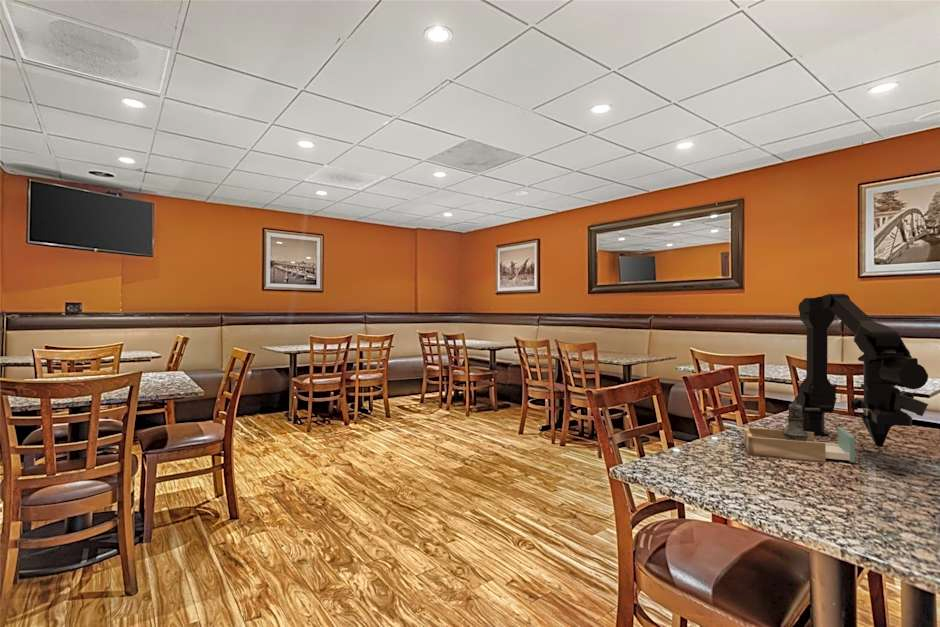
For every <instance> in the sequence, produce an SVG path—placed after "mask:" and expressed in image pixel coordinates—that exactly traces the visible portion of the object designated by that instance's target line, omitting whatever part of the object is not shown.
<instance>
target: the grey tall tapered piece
mask: <svg viewBox="0 0 940 627" xmlns="http://www.w3.org/2000/svg"><path fill="white" fill-rule="evenodd" d="M793 401H794V403H792V402H791V403H790V404H788V415H787V416H786V419H787V422H788V424H787V428H786V429H781V430H782V433H783V436H784V438H785V439H786V440H796V441H807V439H808V436H809V433H807V432H805V431H804V430H803V427H802V420H803V419H804V418H802V406H801V405H799V404H797V403H796V402H797V401H796V400H793Z"/></svg>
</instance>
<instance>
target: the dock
mask: <svg viewBox="0 0 940 627" xmlns="http://www.w3.org/2000/svg"><path fill="white" fill-rule="evenodd" d="M742 430H743V431H742V433H743V438H742V439H743V440H742V441H743V442H742V443H743V445H744V447H745V450H746V451H747V454H748V456H755V457H756V456H757V457H767V458H778V459H787V460H788V459H789V460H795V461H796V460H797V461H808V462H818V463H826V462H827V461H826V459H827V458H826V444H825V443H826V442H823V443H820V441H815V434H814V432H807V433H809V436H808V439H807V441H796V440H784V439H785V438H784V436H783V433H782V430H783V429H776V428H775V429H774V428H764V427H763V428H761V427H751V426H750V427H749V426H743V428H742ZM772 438H775V439H772ZM808 441H811V442H808Z"/></svg>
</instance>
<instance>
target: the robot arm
mask: <svg viewBox="0 0 940 627" xmlns="http://www.w3.org/2000/svg"><path fill="white" fill-rule="evenodd" d="M798 312H799V319H800V320H801V322H802V323H803V326H805V328H806V375H805V378H804V379H803V381H802V382H801V384H800V385H799V391H798V394H797V395H796V396H795V398H794V400H796V401H797V402H796V403H797V404H799V405H801V406H802V418H804V419H803V420H802V427H803V430H804V431H805V432H814V435H819V436H829V435H830V434H829V433H828V432H827V431H826V429H825V427H826V426H825V424H826V423H825V421H826V420H825V419H826V418H825V414H828V413H829V414H833V413H834V410H835V405H836V401H838V400H837V394H836V392H837V387H836V386H835V385H833V384H832V383H831V382H830V379H829V378H828V350H829V349H828V347H829V346H828V345H829V344H828V337H829V336H828V331H829V328H830V326H831V325H832V323H833V322H834V320H835V317H837V318H838V319H839V320H840V321H841V322H842V323H843V324H844V325H845V326H846V327H847V328H848V329H849V330H850V331H851V333H853V335H854V338H853V342H854V343H855V344H856V346H857V348H858V349H859V350H860V351H861V352H862V355H860V356H859V357H858V358H857V360H858V361H859V362H863V383H860V388H861V390H863V397H854V398H853V399H851V401H850V408H851V409H852V410H854V411H858V409H862V410H863V413H859V414H858V415H859V417H860V418H861V420H862V422H863V424H864V425H865V428H866V430H867V432H868V433H869V435H870V437H871V439H872V441H873V443H874V445H875V447H877V448H883V446H884V444H885V441H886V439H887V437H888V434H889V431H890V429H891V428H892V427H893V426H900V427H901V426H902V427H912V426H913V417H912V416H911V415H910V414H908V413H907V412H911V413H913V414H915V415H917V416H919V417H923V416H924V415H925V412H926V410H927V408H928V406H929V403H926V402H924V401H923V400H922V401H921V400H919V399H916V398H915V397H914V394H913V393H911V392H908V391H906V390H905V391H904V390H902V391H901V389H899V388H898V387H901V388H906V389H909V390H919V389H920V388H922V387H924V386H925V384H927V381H928V379H929V374H928V372H927V370H926V369H925V367H924V366H922V364H919V363H918V360H919V359H918V358H916V357H913V356H912V355H911V351H909V349H908V348H907V346H906V345H905V343H904V341H903V339H902V338H901V335H900V334H899V332H897V331H896V330H894V329H893V328H891V327H890V326H888V325H885V324H882V323H878V322H876V321H875V320H873V319H872V318H871V317H869V315H868V314H866V313H865V312H864V311H863V310H862V309H861V308H860V307H859V306H857V305H856V304H855V302H853V301H852V300H851V299H850V296H849V295H848V294H845V293H827V294H824V295H822V296H817V297H805V298H803V299H802V301H800V302H799V303H798ZM896 386H897V387H896ZM794 400H792V402H791V404H792V403H794ZM903 410H905V411H907V412H905V411H903Z"/></svg>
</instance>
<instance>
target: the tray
mask: <svg viewBox="0 0 940 627" xmlns="http://www.w3.org/2000/svg"><path fill="white" fill-rule="evenodd" d="M837 434H838V443H834V442H833V443H832V442H822V441H821V442H820V441H819V442H820V443H825V444H826V459H829V460H830V459H831V460H841V461H848V462H849V463H856V437H855V436H853V435H852V434H851V433H850V432H848V431H847V430H846V429H845V428H842V427H841V428H840V427H838V433H837ZM772 439H775V438H772ZM784 440H786V439H784ZM808 442H811V441H808Z"/></svg>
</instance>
